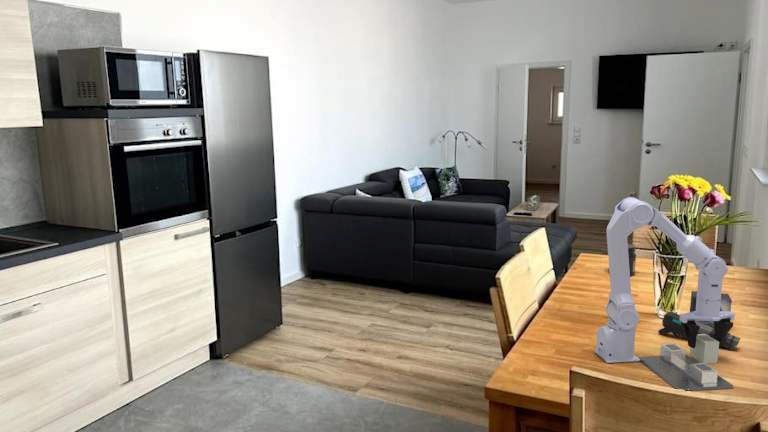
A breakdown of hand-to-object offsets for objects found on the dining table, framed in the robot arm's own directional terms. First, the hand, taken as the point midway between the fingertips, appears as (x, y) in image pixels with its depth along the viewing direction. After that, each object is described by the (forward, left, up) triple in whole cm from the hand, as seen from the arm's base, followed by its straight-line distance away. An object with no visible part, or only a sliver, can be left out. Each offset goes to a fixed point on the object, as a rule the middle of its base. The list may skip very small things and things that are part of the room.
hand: (704, 345), depth 162 cm
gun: (+6, +12, -4) cm, 14 cm away
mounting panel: (-11, -8, -4) cm, 14 cm away
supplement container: (+21, +86, -4) cm, 89 cm away
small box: (+17, +23, -4) cm, 29 cm away
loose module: (0, 0, -4) cm, 4 cm away
